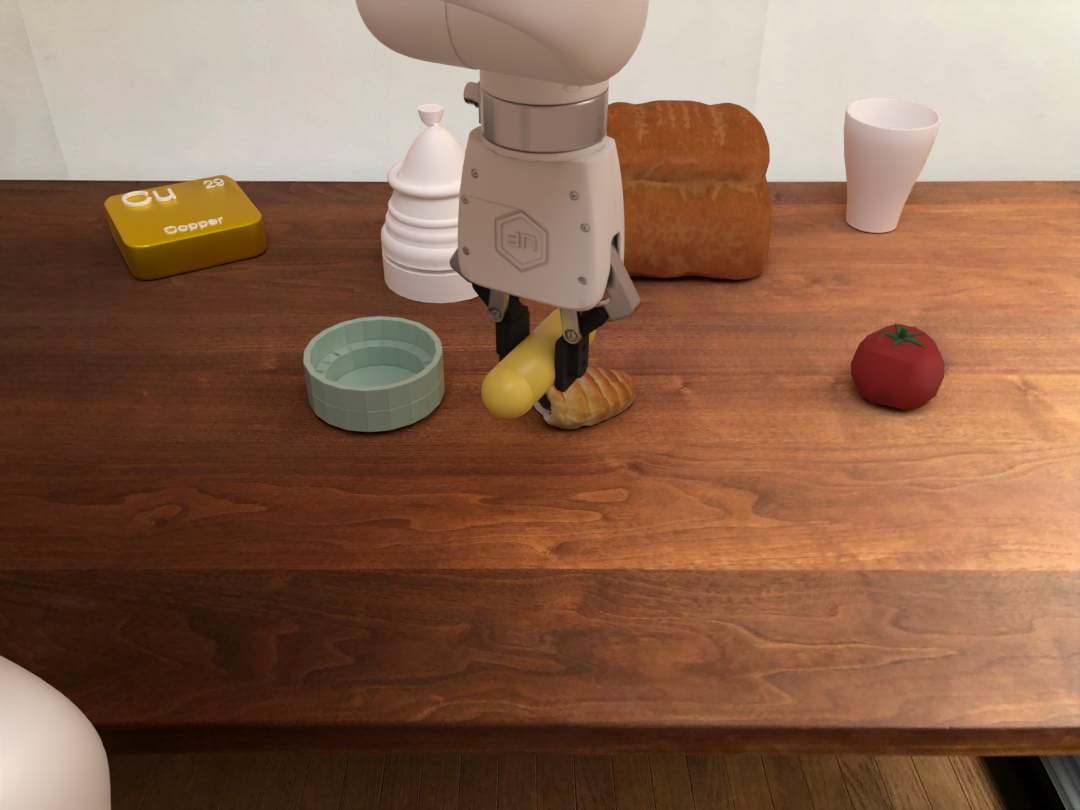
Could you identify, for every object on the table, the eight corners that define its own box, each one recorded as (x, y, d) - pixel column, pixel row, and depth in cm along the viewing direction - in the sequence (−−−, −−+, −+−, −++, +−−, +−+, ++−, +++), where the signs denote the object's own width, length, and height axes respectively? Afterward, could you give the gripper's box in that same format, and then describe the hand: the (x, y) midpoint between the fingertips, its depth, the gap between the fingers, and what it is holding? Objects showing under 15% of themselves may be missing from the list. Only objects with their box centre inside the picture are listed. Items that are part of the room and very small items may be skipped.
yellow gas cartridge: (523, 432, 68) (514, 384, 66) (476, 425, 69) (466, 377, 68) (613, 336, 78) (607, 291, 76) (569, 331, 79) (563, 288, 77)
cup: (927, 242, 123) (954, 130, 115) (837, 241, 123) (858, 129, 115) (903, 204, 131) (926, 97, 124) (818, 203, 131) (836, 97, 124)
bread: (571, 219, 127) (574, 80, 118) (748, 220, 127) (767, 82, 118) (573, 289, 113) (577, 138, 103) (773, 291, 113) (796, 141, 103)
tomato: (833, 400, 97) (847, 333, 92) (868, 362, 102) (883, 297, 98) (918, 432, 93) (936, 363, 89) (950, 391, 98) (969, 324, 94)
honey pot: (375, 255, 120) (360, 99, 109) (485, 241, 122) (481, 88, 112) (394, 310, 109) (380, 144, 99) (514, 294, 112) (513, 131, 102)
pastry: (614, 376, 100) (616, 342, 97) (649, 415, 95) (652, 379, 92) (523, 399, 96) (523, 364, 94) (554, 440, 92) (555, 405, 89)
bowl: (397, 452, 90) (392, 404, 87) (282, 413, 94) (274, 367, 92) (468, 381, 99) (467, 335, 96) (361, 349, 103) (356, 304, 100)
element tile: (136, 285, 114) (126, 245, 111) (108, 230, 124) (99, 192, 121) (272, 254, 120) (266, 215, 117) (234, 204, 130) (228, 168, 127)
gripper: (391, 110, 63) (411, 368, 74) (647, 163, 57) (629, 436, 67) (457, 75, 68) (467, 319, 79) (698, 119, 62) (673, 379, 73)
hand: (541, 371), depth 73 cm, fingers closed on yellow gas cartridge, 3 cm apart
